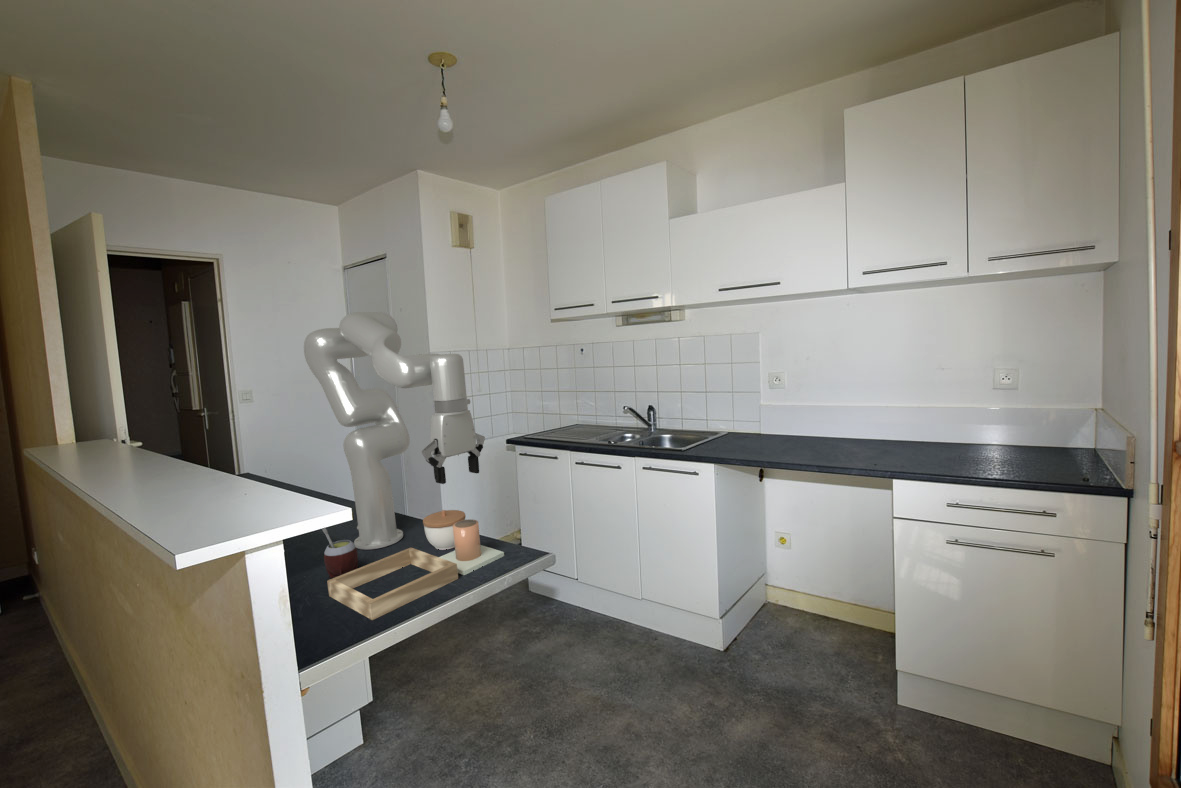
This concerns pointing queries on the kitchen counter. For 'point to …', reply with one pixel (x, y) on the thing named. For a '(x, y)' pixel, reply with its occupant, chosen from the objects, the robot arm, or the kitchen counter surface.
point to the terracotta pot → (466, 540)
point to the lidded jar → (442, 528)
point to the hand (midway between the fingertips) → (458, 477)
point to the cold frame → (398, 597)
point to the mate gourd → (340, 557)
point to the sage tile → (468, 566)
